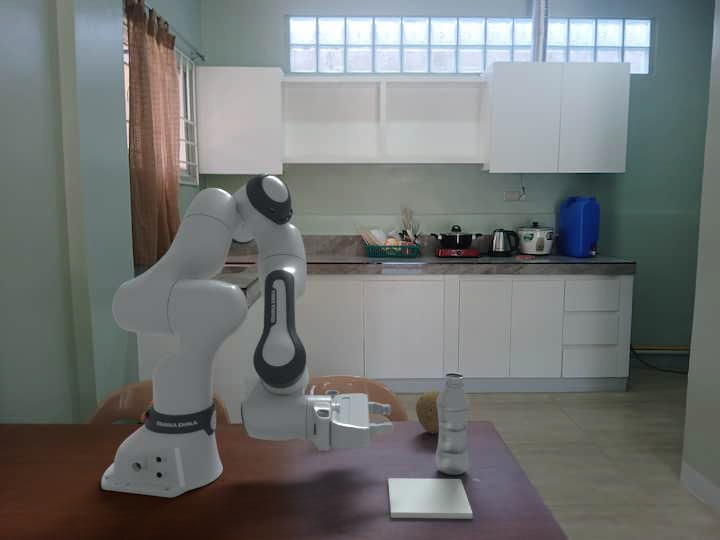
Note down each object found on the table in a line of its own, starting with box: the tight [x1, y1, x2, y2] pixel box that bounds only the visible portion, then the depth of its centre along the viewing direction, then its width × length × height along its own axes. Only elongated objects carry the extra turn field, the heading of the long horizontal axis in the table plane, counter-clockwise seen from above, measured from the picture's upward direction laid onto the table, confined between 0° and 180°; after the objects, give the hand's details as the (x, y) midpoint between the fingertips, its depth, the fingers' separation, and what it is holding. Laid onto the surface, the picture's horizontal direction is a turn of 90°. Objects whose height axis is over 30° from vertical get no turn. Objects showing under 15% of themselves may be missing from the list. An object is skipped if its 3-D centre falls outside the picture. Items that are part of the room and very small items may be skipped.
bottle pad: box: [387, 477, 473, 520], centre depth 106 cm, size 14×12×1 cm
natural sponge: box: [415, 390, 441, 435], centre depth 135 cm, size 9×9×10 cm
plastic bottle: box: [434, 372, 471, 476], centre depth 116 cm, size 6×7×20 cm
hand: (392, 418), depth 116 cm, fingers open, 8 cm apart
